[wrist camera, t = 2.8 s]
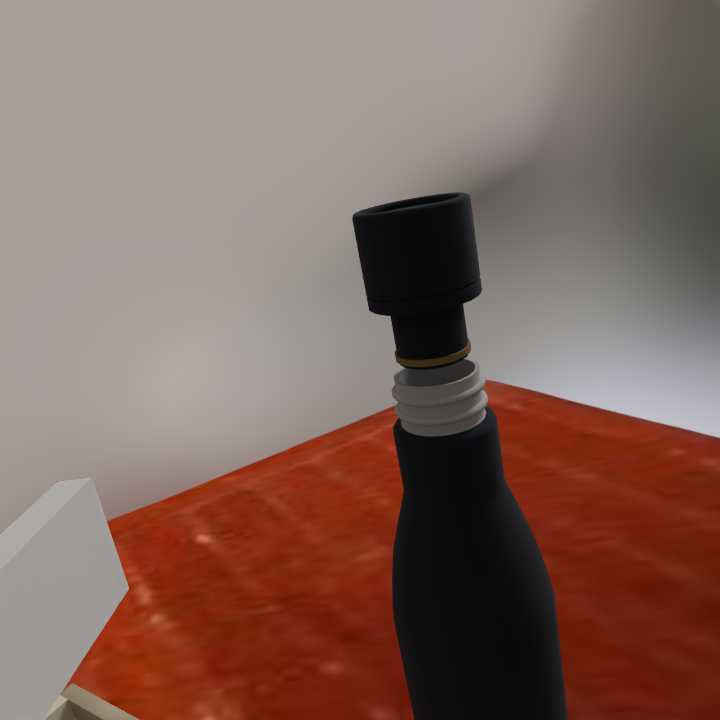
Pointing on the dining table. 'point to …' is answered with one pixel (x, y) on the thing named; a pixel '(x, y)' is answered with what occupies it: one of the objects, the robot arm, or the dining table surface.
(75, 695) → the wooden compartment box
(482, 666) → the black metal bottle
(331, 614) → the dining table surface
